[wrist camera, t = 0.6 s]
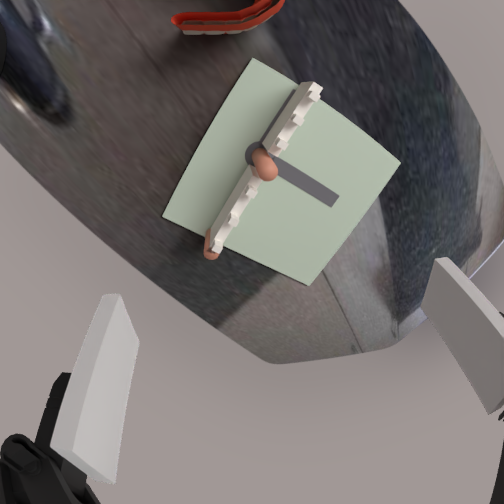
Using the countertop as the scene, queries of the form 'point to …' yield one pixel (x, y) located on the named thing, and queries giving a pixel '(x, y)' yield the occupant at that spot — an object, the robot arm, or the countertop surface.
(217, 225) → the swing panel
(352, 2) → the countertop surface
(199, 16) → the toy
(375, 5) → the countertop surface
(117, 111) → the countertop surface
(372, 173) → the card
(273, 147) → the fixed fence
